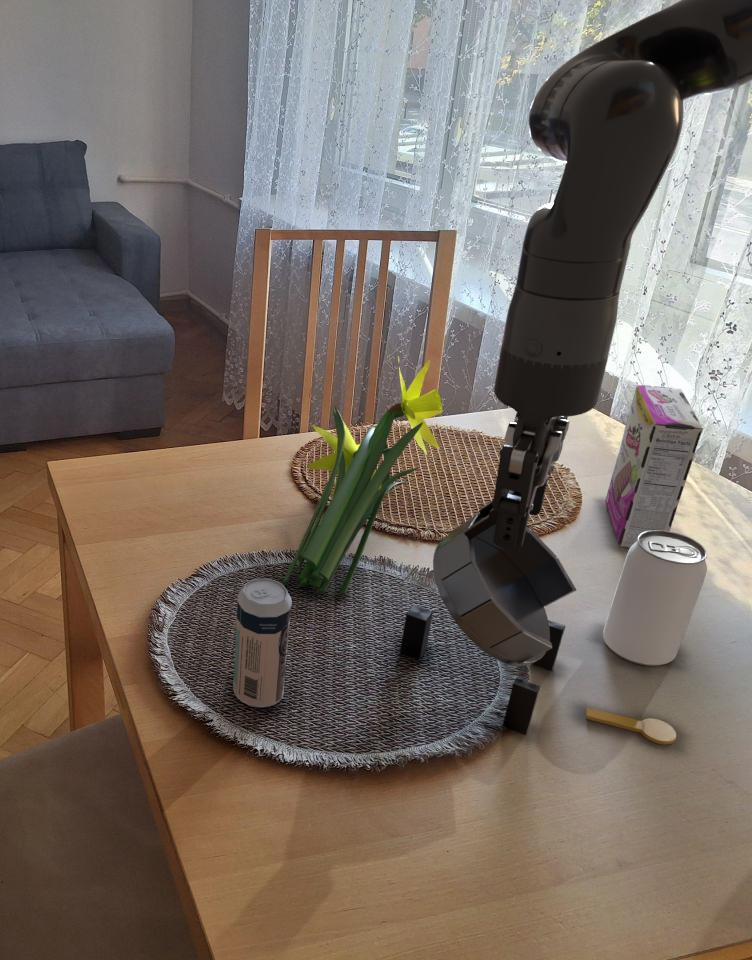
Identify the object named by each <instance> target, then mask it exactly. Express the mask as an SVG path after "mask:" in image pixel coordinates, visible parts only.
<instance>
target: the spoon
mask: <svg viewBox="0 0 752 960" xmlns="http://www.w3.org/2000/svg"><path fill="white" fill-rule="evenodd" d="M585 715H586V716H585V719H586V720H588V721H593V722H595V723H596V722H597V723H599V724H605V725H609V726H612V727H616V728H619V729H624V730H626V731H627V730H628V731H631V732H635V733H639V734H641V735H642V736H643V737H644V738H646V740H648V741H650V742H653V743H654V744H659V745H671V744H674V743H675V741H676V739H677V736H678V735H677V732H676V730H675V729H674V727H673V726H672V725H670V724H669V723H667V722H666V721H664V720H661V719H659V718H653V717H650V718H649V717H648V718H644V719H642V720H639V719H635V718H631V717H627V716H623V715H619V714H615V713H611V712H608V711H603V710H600V709H595V708H591V707H586V711H585Z"/></svg>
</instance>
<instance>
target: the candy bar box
mask: <svg viewBox="0 0 752 960" xmlns="http://www.w3.org/2000/svg"><path fill="white" fill-rule="evenodd" d="M703 431H704V428H703V426H702V424H701V422H700V421H699V418H698V416H697V415H696V413H695V411H694V410H693V407H692V405H690V402H689V401H688V398H687V397H686V395H685V393H684V391H683V389H682V388H679V387H678V388H677V387H665V386H658V385H657V386H656V385H654V386H651V385H649V384H648V385H647V384H642V385H636V387H635V390H634V395H633V398H632V402H631V405H630V409H629V412H628V416H627V420H626V423H625V427H624V430H623V434H622V438H621V442H620V445H619V449H618V452H617V457H616V461H615V464H614V467H613V471H612V475H611V479H610V482H609V486H608V490H607V493H606V496H605V500H604V503H605V506H606V509H607V512H608V516H609V519H610V522H611V525H612V528H613V529H612V530H613V532H614V536H615V539H616V542H617V546H618V547H619V548H623V549H628V550H629V549H630V547H631V546H632V545H633V544H634V543H635V542H637V538H638V536H639V535H640V534H641V533H643V532H646V531H651V530H663V531H670V532H671V528H672V525H673V522H674V519H675V516H676V514H677V513H676V512H677V509H678V507H679V503H680V501H681V498H682V494H683V491H684V489H685V485H686V481H687V479H688V476H689V473H690V470H691V468H692V464H693V460H694V458H695V455H696V451H697V448H698V445H699V442H700V438H701V435H702V433H703Z"/></svg>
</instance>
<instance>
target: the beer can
mask: <svg viewBox="0 0 752 960" xmlns="http://www.w3.org/2000/svg"><path fill="white" fill-rule="evenodd" d="M236 600H237V601H236V622H235V623H236V624H235V641H234V643H235V644H234V661H233V662H234V663H233V681H232V682H233V685H232V691H233V693H234V696H235V697H236V698H237V699H238V700H239V701H241V703H244V704H246V705H248V706H250V707H253V708H269V707H272V706H274V705H277V704H278V703H279V702H281V700H282V699H283V697H284V694H285V683H286V681H285V680H286V672H287V671H286V669H287V657H288V647H289V646H288V645H289V634H290V626H291V625H290V623H291V614H292V613H291V612H292V611H291V610H292V605H293V601H292V600H293V599H292V597H291V596H290V594H289V592H288V589H287V588H286V587H285V586H283V585H282V582H279V581H277V580H274V579H272V578H254V579H252V580H250V581H248V582H246V583H245V584H244V586H243V587H242V588H241V590H240V591H239V592H238V595H237V599H236Z"/></svg>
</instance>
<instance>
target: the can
mask: <svg viewBox="0 0 752 960" xmlns="http://www.w3.org/2000/svg"><path fill="white" fill-rule="evenodd" d="M707 557H708V552H707V549H706V548H705V547H704V546H703V545H702V544H701V542H699V541H697V540H695V539H694V538H692V537H689V536H687V535H684V534H682V533H678V532H673V531H671V530H670V531H663V530H651V531H646V532H643V533H641V534H640V535H639V536H638V538H637V542H635V543H634V544H633V545H632V546H631V547H630V549H628V551H627V554H626V557H625V559H624V563H623V565H622V569H621V573H620V575H619V580H618V582H617V585H616V589H615V592H614V595H613V598H612V602H611V605H610V608H609V611H608V614H607V617H606V621H605V624H604V628H603V632H602V638H603V641H604V643H605V644H606V646H607V648H608V649H609V650H610V651H611V652H612V653H614V654H615V655H617V656H618V657H619V658H622V659H624V660H625V661H627V662H631V663H633V664H637V665H640V666H647V667H657V666H663V665H666V664H669V663H671V662H672V661H674V660H675V659H676V658H677V654H678V652H679V650H680V648H681V645H682V642H683V639H684V636H685V634H686V631H687V628H688V625H689V623H690V621H691V618H692V615H693V612H694V609H695V607H696V605H697V602H698V599H699V595H700V593H701V590H702V587H703V584H704V582H705V580H706V579H705V578H706V576H707V572H708V565H707V561H706V559H707Z"/></svg>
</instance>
